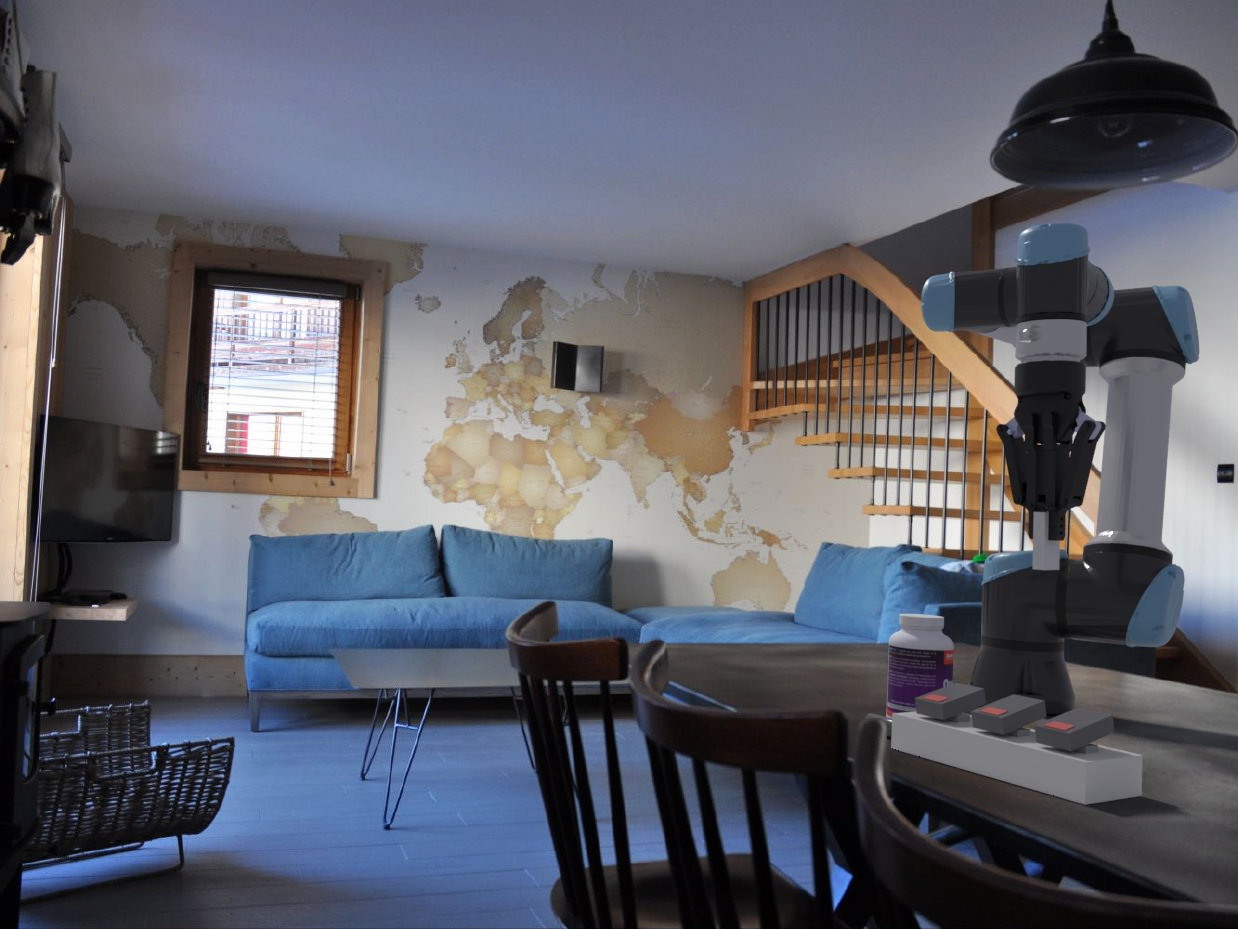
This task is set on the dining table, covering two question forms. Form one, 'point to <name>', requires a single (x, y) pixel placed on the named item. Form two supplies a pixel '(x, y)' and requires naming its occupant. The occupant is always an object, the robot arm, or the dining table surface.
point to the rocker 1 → (950, 701)
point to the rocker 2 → (1008, 714)
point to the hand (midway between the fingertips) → (1045, 569)
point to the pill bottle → (917, 661)
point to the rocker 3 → (1074, 729)
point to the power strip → (1019, 758)
